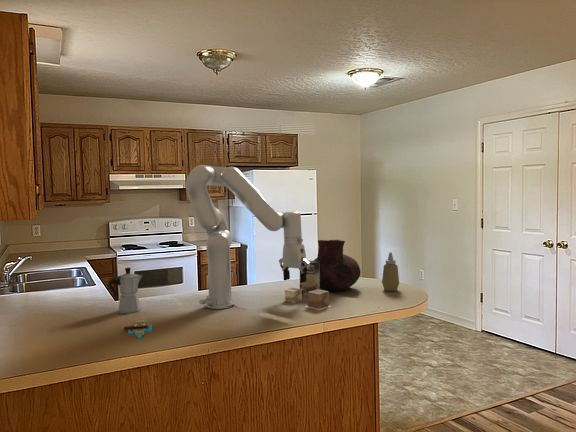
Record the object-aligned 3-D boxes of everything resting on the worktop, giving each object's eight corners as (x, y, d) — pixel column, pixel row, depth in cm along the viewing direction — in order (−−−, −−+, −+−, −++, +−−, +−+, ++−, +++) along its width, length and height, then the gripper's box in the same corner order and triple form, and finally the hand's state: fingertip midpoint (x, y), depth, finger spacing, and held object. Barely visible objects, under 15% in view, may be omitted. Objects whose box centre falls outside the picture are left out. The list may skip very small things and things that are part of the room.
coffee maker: (139, 306, 199) (137, 264, 198) (149, 309, 193) (147, 266, 191) (104, 313, 188) (102, 269, 187) (114, 317, 182) (112, 272, 181)
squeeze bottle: (401, 292, 216) (401, 253, 215) (383, 292, 216) (383, 253, 215) (397, 288, 224) (397, 251, 223) (380, 288, 224) (380, 251, 223)
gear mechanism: (122, 341, 155) (151, 338, 158) (122, 325, 155) (151, 322, 158) (125, 324, 174) (151, 322, 177) (124, 310, 174) (150, 308, 177)
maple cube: (293, 303, 194) (293, 291, 194) (285, 301, 198) (284, 289, 198) (301, 300, 198) (301, 289, 198) (293, 299, 201) (293, 287, 201)
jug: (366, 285, 230) (366, 235, 229) (351, 297, 208) (350, 241, 206) (319, 281, 241) (319, 234, 239) (300, 292, 218) (299, 239, 217)
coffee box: (299, 298, 207) (298, 262, 206) (300, 294, 214) (299, 260, 213) (319, 298, 206) (319, 262, 205) (320, 295, 213) (319, 260, 212)
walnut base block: (319, 309, 184) (319, 294, 184) (308, 306, 188) (307, 291, 188) (329, 306, 188) (328, 291, 188) (317, 303, 192) (317, 289, 192)
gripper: (314, 240, 193) (316, 281, 194) (284, 238, 205) (286, 277, 206) (302, 243, 187) (304, 285, 189) (272, 241, 199) (274, 280, 201)
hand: (294, 280), depth 197 cm, fingers open, 9 cm apart
